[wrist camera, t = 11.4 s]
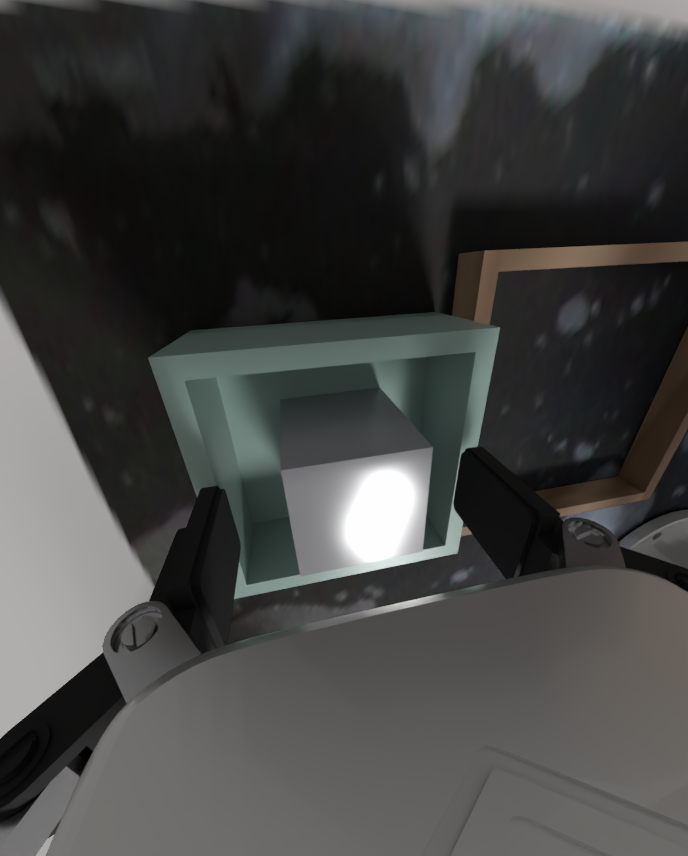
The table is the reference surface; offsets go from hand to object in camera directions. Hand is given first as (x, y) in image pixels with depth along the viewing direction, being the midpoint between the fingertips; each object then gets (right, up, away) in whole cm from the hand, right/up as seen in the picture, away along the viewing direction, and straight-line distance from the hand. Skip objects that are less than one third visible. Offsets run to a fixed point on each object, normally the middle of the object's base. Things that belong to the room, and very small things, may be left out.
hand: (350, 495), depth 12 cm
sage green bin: (-1, +3, +5) cm, 6 cm away
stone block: (-1, +2, +4) cm, 5 cm away
